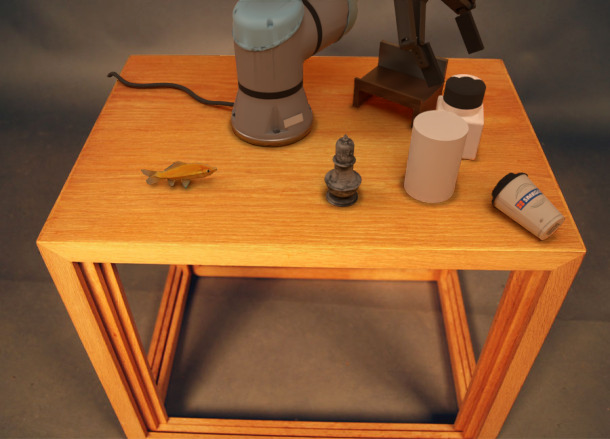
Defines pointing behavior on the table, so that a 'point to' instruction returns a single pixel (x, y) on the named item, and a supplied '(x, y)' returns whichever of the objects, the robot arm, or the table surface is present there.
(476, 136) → the container
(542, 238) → the coffee cup
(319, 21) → the robot arm
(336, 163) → the salt shaker
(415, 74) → the spice rack
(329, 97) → the table surface
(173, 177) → the fish
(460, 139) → the beige cylinder
